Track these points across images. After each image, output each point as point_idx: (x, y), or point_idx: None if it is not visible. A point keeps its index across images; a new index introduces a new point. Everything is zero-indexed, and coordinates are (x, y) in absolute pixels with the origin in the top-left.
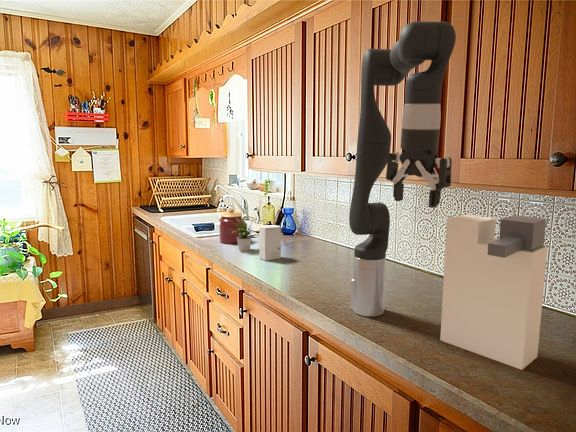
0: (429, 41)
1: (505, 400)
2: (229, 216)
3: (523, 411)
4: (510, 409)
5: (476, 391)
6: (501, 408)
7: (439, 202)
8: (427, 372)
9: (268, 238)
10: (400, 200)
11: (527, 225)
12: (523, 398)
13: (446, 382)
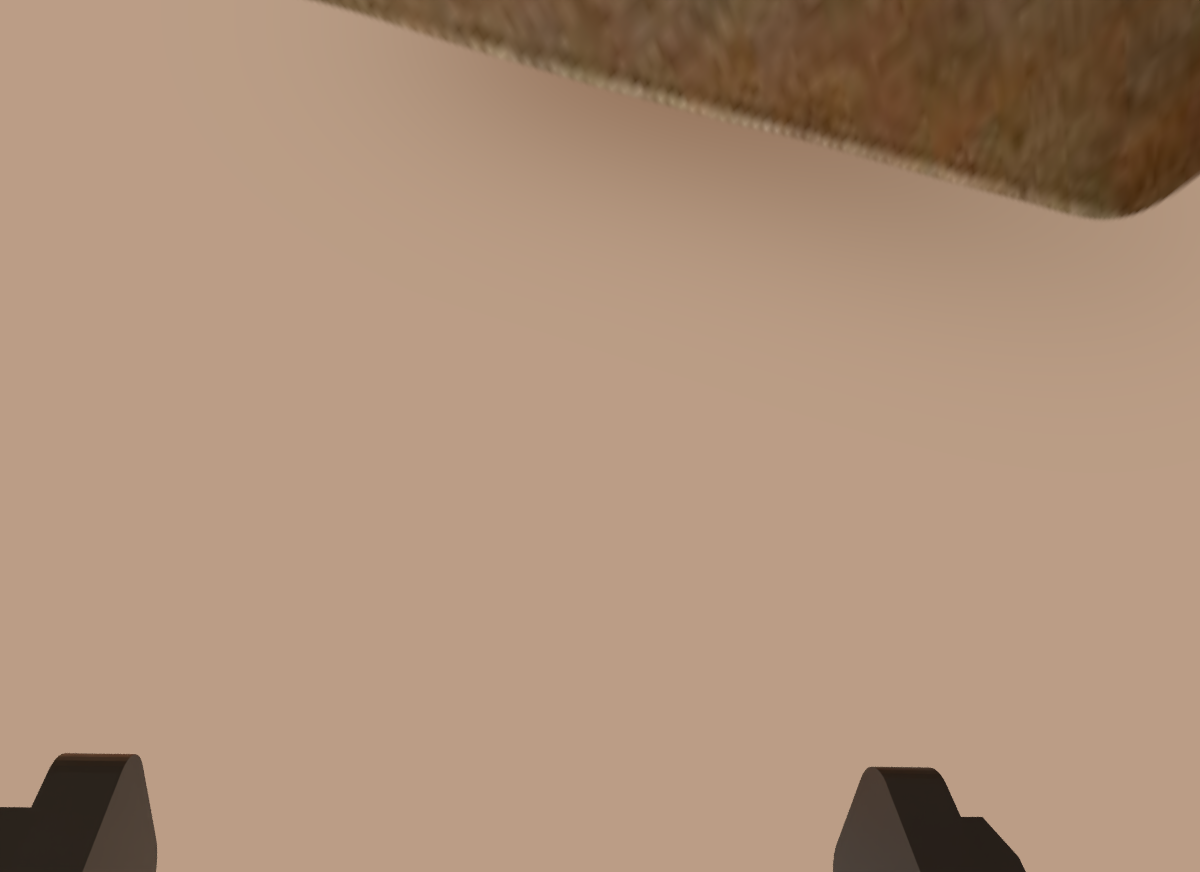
0: None
1: (1035, 90)
2: None
3: (1111, 125)
4: (1061, 148)
5: (909, 107)
6: (1027, 167)
7: (1014, 864)
8: (663, 102)
9: None
10: (143, 795)
11: None
12: (1107, 11)
13: (772, 128)
